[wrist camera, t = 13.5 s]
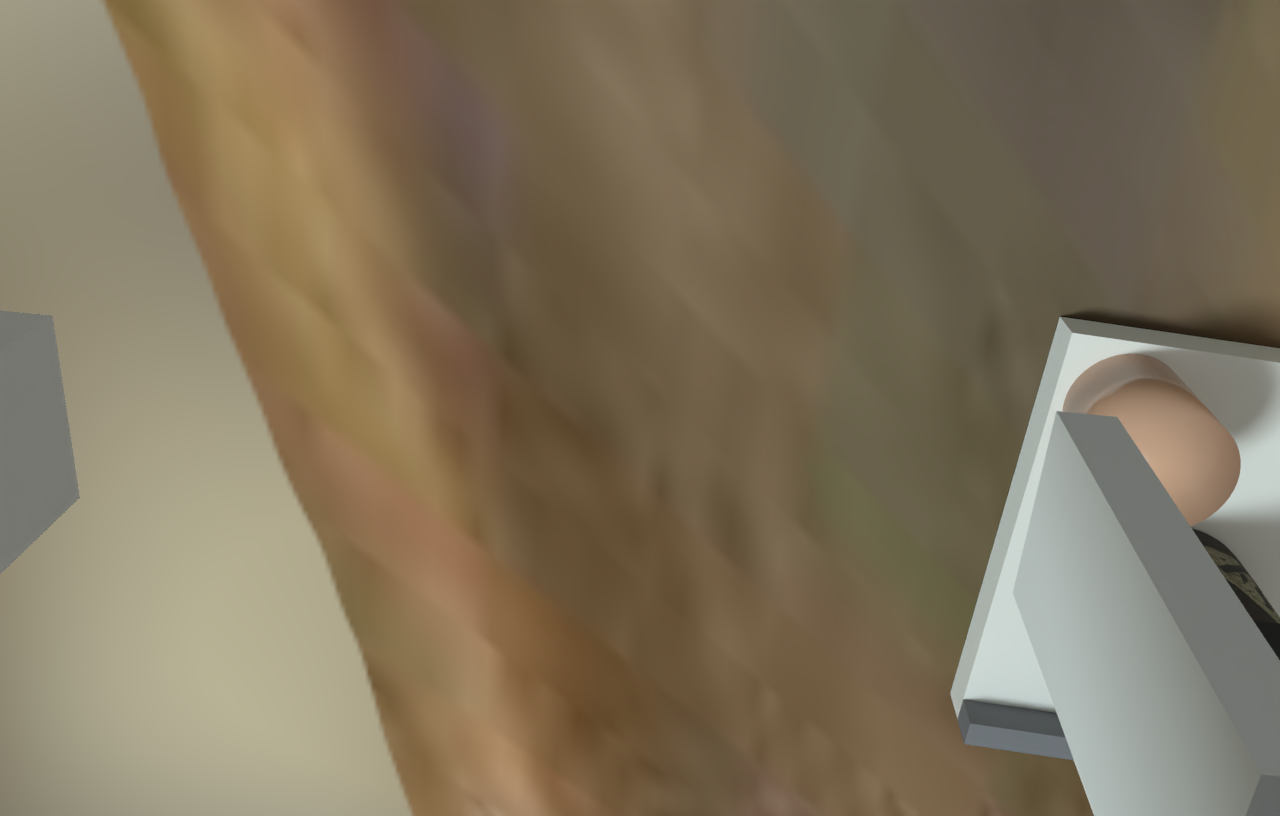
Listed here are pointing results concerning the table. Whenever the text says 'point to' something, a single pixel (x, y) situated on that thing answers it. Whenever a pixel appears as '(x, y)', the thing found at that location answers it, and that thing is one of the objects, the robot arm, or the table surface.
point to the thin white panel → (1246, 524)
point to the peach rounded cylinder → (1164, 429)
